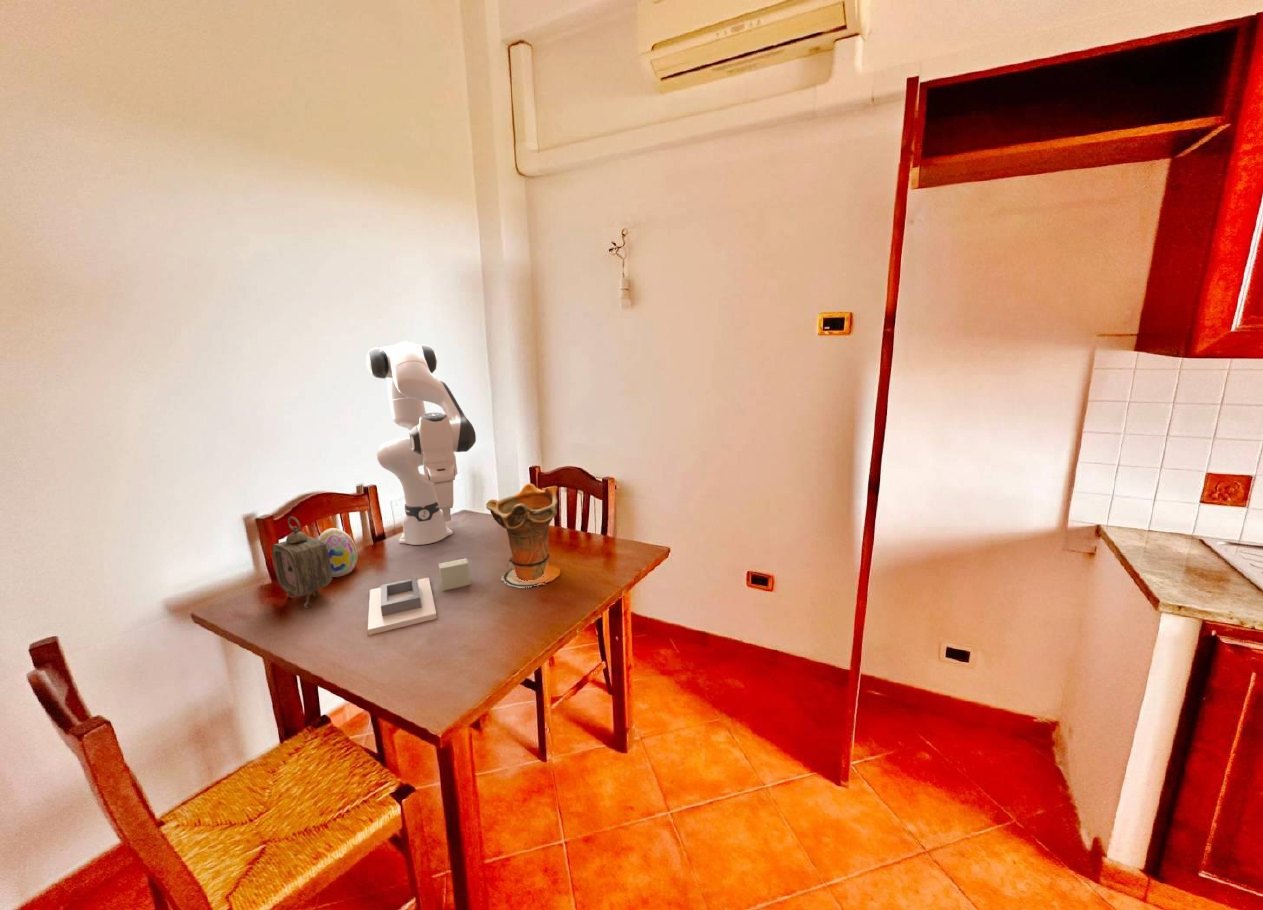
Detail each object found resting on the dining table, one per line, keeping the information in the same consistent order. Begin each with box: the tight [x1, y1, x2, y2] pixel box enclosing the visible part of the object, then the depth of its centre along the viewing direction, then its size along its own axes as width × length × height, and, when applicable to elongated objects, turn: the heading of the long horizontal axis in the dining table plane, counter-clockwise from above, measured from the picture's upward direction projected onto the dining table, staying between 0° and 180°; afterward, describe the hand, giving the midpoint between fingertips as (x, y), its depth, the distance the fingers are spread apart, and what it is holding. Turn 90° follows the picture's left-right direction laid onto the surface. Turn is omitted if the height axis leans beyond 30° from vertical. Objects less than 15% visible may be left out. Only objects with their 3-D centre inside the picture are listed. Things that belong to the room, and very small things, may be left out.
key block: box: [438, 557, 472, 592], centre depth 149 cm, size 4×8×7 cm, turn 116°
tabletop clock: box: [271, 516, 333, 608], centre depth 141 cm, size 14×9×25 cm, turn 56°
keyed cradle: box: [367, 577, 438, 636], centre depth 138 cm, size 24×16×4 cm, turn 26°
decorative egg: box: [317, 527, 358, 578], centre depth 159 cm, size 12×12×15 cm
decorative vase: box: [485, 482, 559, 589], centre depth 151 cm, size 21×23×28 cm
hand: (446, 516), depth 145 cm, fingers open, 8 cm apart
